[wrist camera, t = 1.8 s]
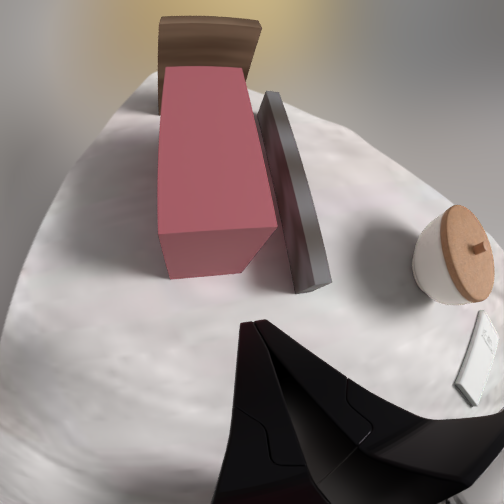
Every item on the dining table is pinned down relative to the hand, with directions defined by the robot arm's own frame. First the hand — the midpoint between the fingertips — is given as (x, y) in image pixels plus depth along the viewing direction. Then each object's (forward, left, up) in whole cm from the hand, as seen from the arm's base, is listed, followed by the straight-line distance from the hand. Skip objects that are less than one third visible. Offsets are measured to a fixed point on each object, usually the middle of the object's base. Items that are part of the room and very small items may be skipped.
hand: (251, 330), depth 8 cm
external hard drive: (-13, -36, -14) cm, 41 cm away
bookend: (+14, -2, -14) cm, 20 cm away
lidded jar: (+3, -26, -14) cm, 30 cm away
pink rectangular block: (+12, 0, -14) cm, 18 cm away
